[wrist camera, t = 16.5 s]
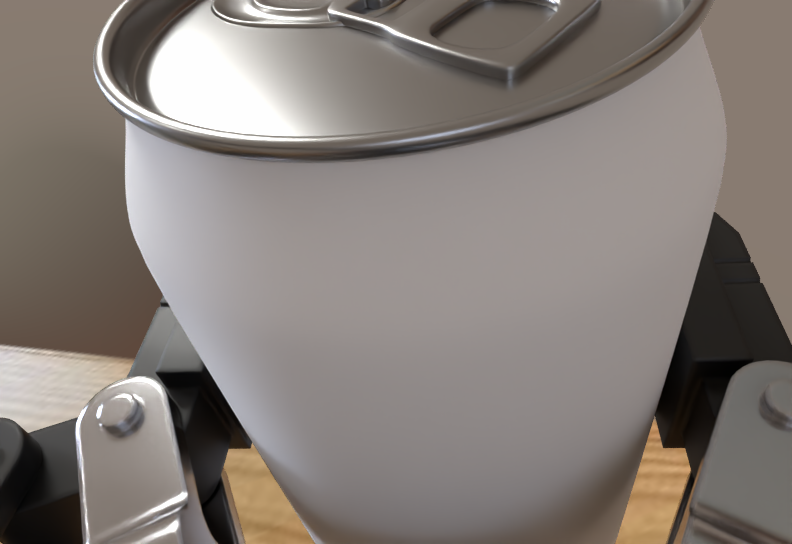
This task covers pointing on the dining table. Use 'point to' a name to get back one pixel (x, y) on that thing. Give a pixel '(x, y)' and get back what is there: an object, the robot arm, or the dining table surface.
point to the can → (427, 242)
